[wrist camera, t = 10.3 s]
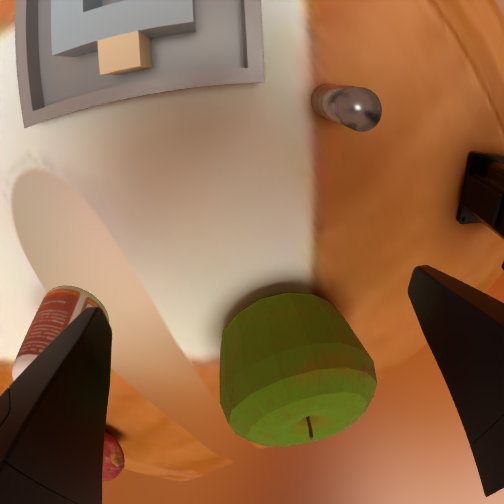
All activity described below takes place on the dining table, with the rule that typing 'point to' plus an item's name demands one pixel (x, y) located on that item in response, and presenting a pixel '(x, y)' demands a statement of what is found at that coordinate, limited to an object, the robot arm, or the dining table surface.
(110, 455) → the fruit
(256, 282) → the dining table surface
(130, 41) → the ring
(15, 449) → the robot arm
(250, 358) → the apple
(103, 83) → the tray
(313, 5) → the dining table surface
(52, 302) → the pill bottle
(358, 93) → the brown rounded cylinder
